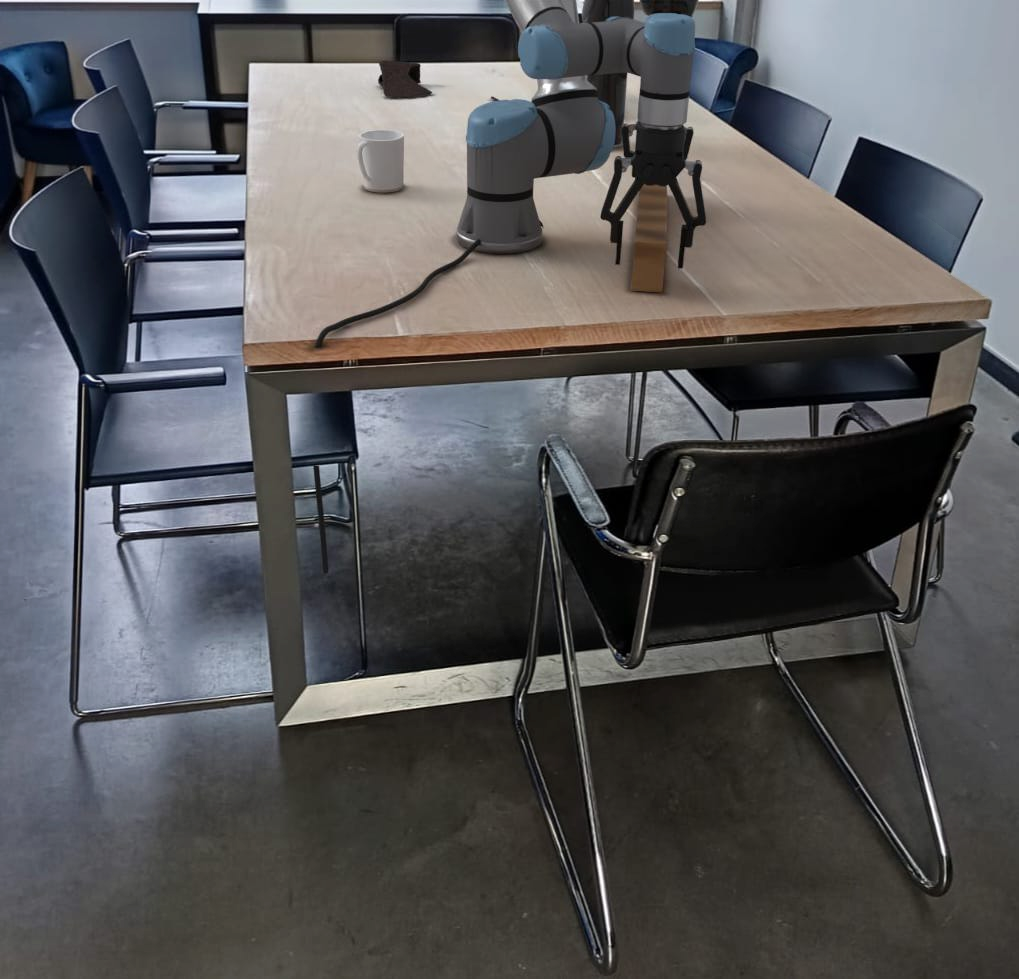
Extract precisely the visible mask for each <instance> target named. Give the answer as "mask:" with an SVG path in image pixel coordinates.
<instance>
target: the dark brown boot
mask: <svg viewBox="0 0 1019 979" xmlns="http://www.w3.org/2000/svg"><path fill="white" fill-rule="evenodd" d="M378 66H379V68H380V72H381V74H379V75H378V79H377V84H378V85H379V86H380V87H381V88H382V89H383V95H384V96H385V97H388V98H394V99H395V98H396V99H403V98H405V99H406V98H407V99H411V98H418V97H425V96H429V95H432V94H433V91H431V90H430V89H428V88H427V87H425V86H422V85H421V84H422V82H421V63H419V62H410V61H408V62H407V61H397V60H388V59H387V60H380V61H379V62H378Z"/></svg>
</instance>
